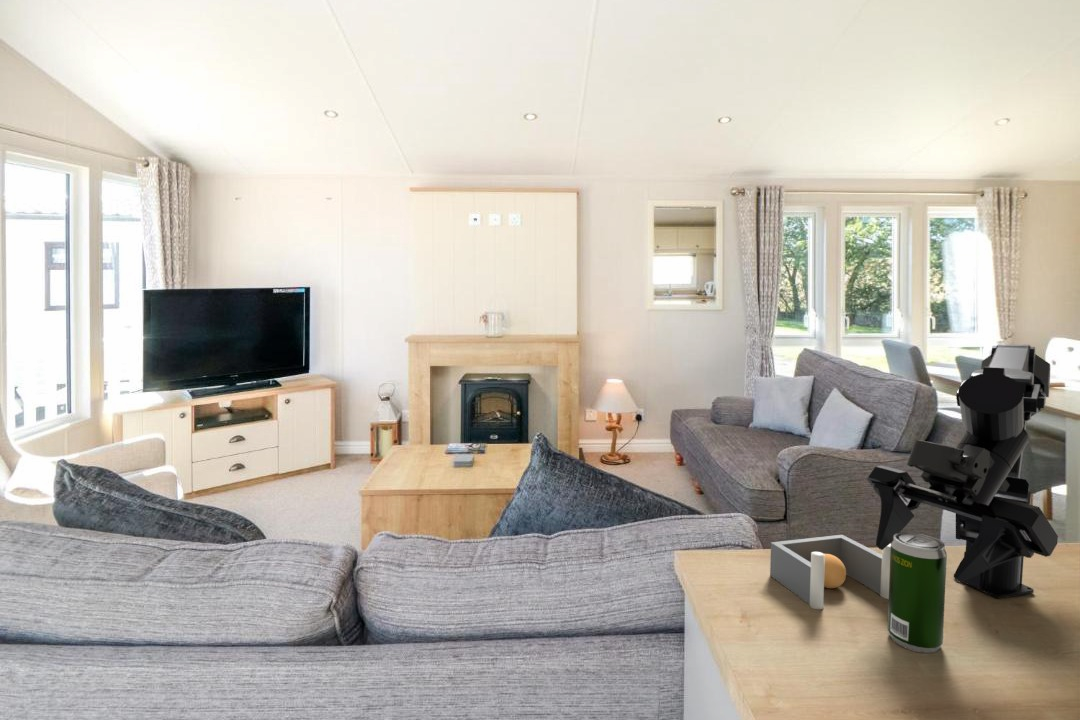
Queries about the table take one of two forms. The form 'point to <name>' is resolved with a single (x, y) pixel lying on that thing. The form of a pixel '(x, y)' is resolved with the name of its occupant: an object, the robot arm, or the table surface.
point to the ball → (833, 572)
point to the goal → (805, 565)
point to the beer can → (917, 591)
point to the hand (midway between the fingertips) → (915, 562)
